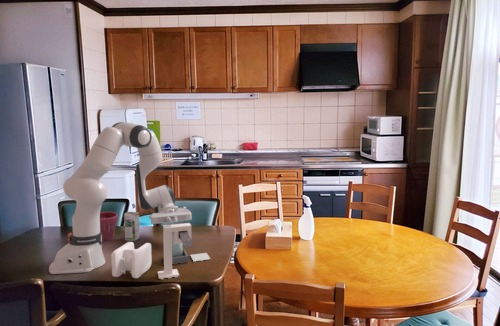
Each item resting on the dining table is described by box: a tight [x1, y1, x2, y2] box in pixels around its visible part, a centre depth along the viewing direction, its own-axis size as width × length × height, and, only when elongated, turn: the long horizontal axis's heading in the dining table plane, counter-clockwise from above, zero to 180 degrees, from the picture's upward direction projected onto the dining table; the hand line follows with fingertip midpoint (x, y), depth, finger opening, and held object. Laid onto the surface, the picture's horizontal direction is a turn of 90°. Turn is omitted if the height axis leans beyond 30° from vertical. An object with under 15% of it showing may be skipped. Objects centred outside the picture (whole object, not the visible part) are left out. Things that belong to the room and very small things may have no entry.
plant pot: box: [100, 211, 119, 242], centre depth 199 cm, size 14×14×13 cm
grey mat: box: [189, 252, 211, 263], centre depth 174 cm, size 8×8×1 cm
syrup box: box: [123, 211, 141, 242], centre depth 198 cm, size 6×6×14 cm
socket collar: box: [172, 248, 190, 265], centre depth 171 cm, size 9×9×3 cm
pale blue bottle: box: [172, 232, 184, 257], centre depth 170 cm, size 5×5×14 cm
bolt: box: [178, 222, 193, 248], centre depth 152 cm, size 4×21×4 cm, turn 20°
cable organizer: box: [110, 241, 153, 279], centre depth 156 cm, size 15×11×12 cm
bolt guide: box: [157, 222, 193, 280], centre depth 155 cm, size 14×6×21 cm, turn 110°
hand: (173, 221), depth 181 cm, fingers closed
